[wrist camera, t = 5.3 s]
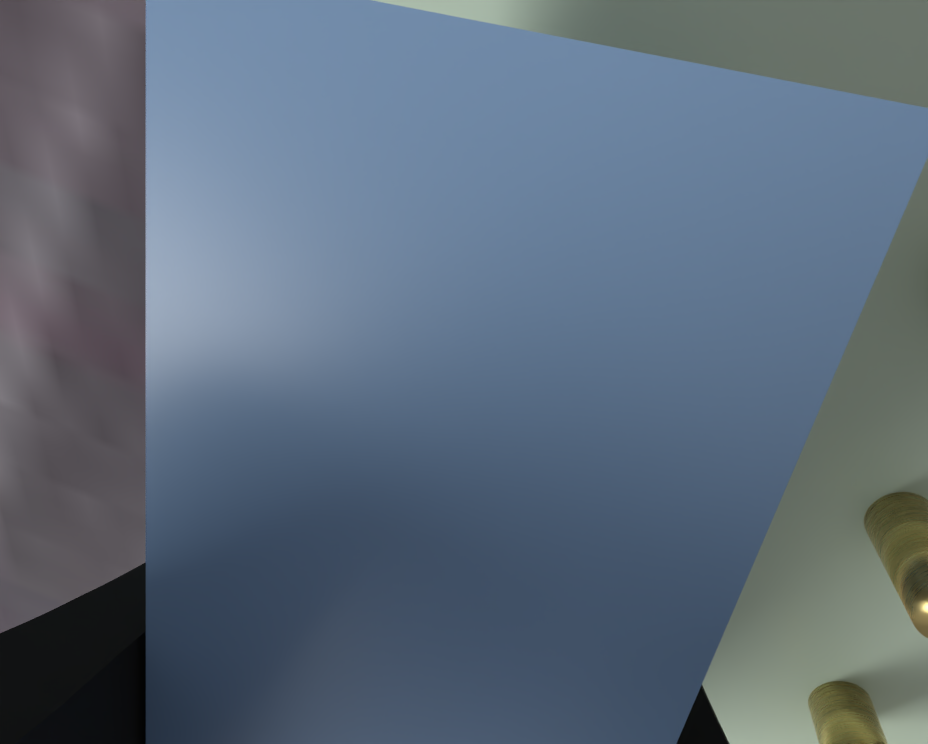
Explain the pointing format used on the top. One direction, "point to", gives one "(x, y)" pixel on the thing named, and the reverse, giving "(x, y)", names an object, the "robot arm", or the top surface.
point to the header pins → (922, 593)
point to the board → (852, 388)
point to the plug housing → (476, 365)
